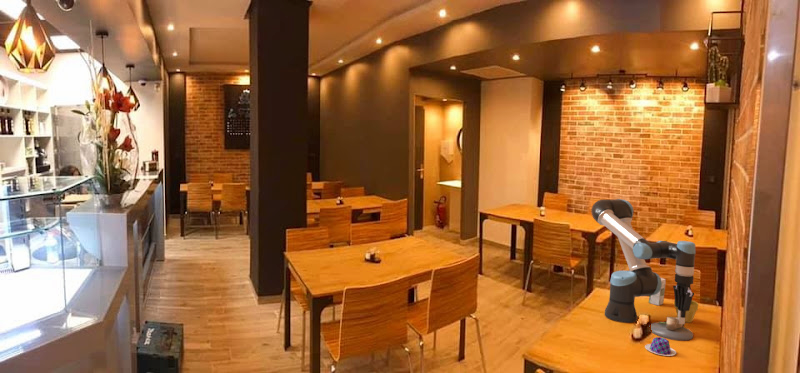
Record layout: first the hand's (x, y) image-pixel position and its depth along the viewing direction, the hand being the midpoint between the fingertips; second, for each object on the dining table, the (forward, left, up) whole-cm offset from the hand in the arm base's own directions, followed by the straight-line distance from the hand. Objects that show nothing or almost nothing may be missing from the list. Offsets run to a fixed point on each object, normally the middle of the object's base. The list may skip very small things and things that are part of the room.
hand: (681, 323), depth 230 cm
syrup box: (+11, +42, -5) cm, 44 cm away
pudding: (-21, -20, -5) cm, 29 cm away
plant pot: (+12, +17, -5) cm, 22 cm away
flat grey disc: (-5, 0, -5) cm, 6 cm away
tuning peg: (-2, +1, -3) cm, 3 cm away
